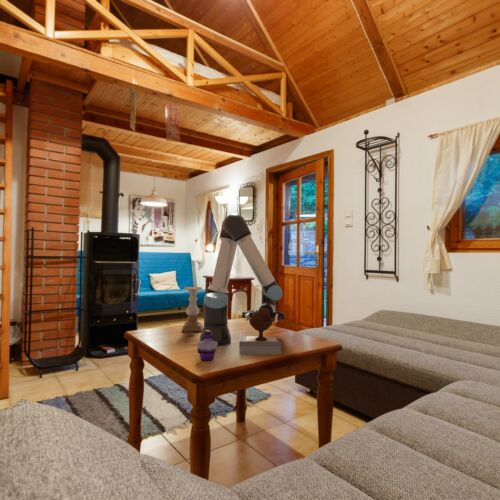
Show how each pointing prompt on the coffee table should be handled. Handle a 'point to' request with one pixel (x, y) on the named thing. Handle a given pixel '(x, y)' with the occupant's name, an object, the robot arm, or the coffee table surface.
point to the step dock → (259, 345)
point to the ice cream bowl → (261, 322)
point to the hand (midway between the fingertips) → (260, 318)
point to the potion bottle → (207, 346)
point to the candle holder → (192, 311)
